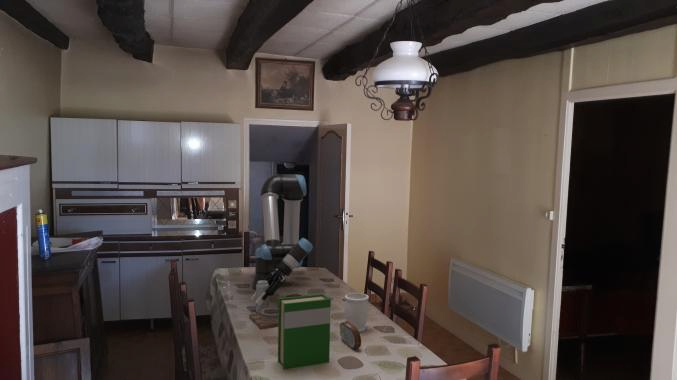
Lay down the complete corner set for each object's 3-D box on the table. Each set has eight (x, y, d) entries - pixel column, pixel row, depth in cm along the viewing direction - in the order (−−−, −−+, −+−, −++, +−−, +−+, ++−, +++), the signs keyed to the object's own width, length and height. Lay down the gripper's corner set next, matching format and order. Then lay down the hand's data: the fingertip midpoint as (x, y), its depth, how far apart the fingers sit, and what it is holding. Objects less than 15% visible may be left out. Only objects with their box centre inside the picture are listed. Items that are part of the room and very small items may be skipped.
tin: (361, 351, 198) (362, 330, 197) (354, 352, 196) (355, 331, 196) (345, 337, 211) (345, 318, 210) (338, 338, 210) (338, 319, 209)
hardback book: (283, 369, 179) (284, 304, 177) (277, 361, 186) (278, 298, 184) (329, 362, 186) (330, 299, 184) (321, 354, 193) (323, 293, 191)
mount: (249, 317, 232) (249, 308, 232) (281, 313, 240) (281, 304, 239) (260, 329, 218) (260, 319, 218) (294, 324, 226) (294, 314, 225)
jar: (355, 323, 229) (356, 291, 227) (372, 329, 221) (373, 296, 220) (339, 329, 221) (339, 295, 220) (356, 335, 214) (357, 301, 212)
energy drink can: (257, 310, 244) (257, 279, 242) (269, 310, 243) (269, 280, 242) (254, 314, 238) (255, 283, 236) (267, 314, 237) (267, 283, 236)
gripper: (300, 274, 238) (267, 313, 231) (285, 266, 254) (253, 301, 248) (290, 264, 235) (256, 303, 229) (275, 256, 252) (243, 292, 245)
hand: (255, 302), depth 238 cm, fingers closed on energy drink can, 6 cm apart
